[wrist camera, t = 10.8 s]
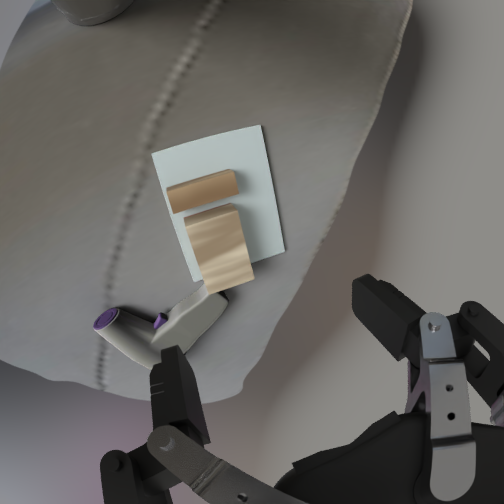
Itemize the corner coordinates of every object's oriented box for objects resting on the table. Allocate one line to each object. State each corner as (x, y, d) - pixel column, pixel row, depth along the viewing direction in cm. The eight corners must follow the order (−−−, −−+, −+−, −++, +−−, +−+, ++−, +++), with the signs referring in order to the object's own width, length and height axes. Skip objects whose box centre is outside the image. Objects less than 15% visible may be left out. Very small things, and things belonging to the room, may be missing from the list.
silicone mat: (151, 153, 26) (151, 153, 26) (258, 124, 28) (260, 124, 28) (193, 279, 34) (194, 282, 33) (282, 249, 36) (284, 251, 35)
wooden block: (185, 227, 27) (209, 294, 31) (237, 210, 28) (254, 279, 32) (183, 217, 30) (204, 280, 34) (230, 202, 31) (247, 266, 35)
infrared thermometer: (228, 292, 38) (161, 359, 38) (159, 237, 32) (93, 318, 32) (237, 310, 34) (164, 381, 34) (161, 250, 28) (88, 339, 28)
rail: (166, 187, 28) (166, 192, 26) (228, 168, 29) (233, 171, 27) (172, 208, 29) (173, 214, 27) (233, 189, 30) (239, 193, 28)
